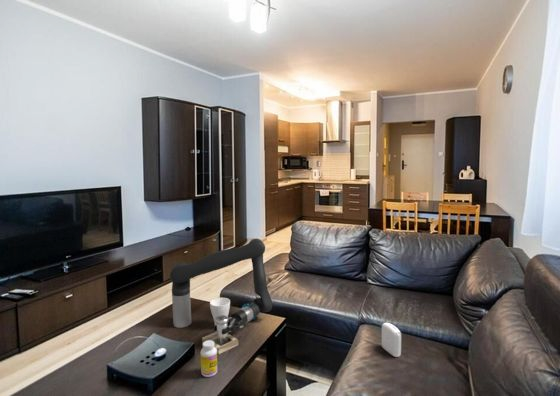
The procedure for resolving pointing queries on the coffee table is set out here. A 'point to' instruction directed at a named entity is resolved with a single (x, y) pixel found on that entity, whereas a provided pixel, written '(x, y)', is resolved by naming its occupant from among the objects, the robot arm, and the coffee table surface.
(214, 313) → the cup
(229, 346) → the jig
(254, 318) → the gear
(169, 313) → the coffee table surface
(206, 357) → the supplement bottle
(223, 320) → the salt shaker
